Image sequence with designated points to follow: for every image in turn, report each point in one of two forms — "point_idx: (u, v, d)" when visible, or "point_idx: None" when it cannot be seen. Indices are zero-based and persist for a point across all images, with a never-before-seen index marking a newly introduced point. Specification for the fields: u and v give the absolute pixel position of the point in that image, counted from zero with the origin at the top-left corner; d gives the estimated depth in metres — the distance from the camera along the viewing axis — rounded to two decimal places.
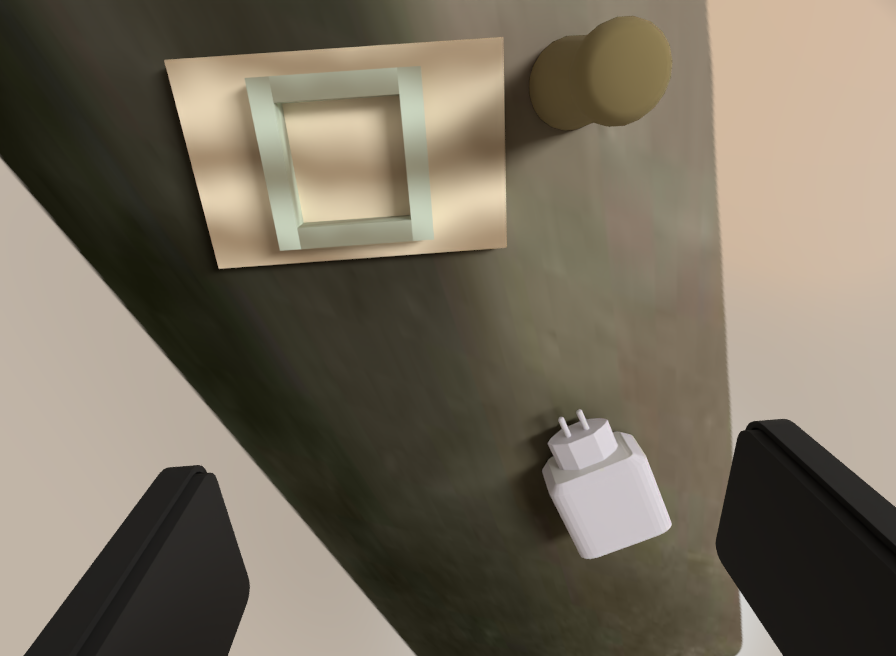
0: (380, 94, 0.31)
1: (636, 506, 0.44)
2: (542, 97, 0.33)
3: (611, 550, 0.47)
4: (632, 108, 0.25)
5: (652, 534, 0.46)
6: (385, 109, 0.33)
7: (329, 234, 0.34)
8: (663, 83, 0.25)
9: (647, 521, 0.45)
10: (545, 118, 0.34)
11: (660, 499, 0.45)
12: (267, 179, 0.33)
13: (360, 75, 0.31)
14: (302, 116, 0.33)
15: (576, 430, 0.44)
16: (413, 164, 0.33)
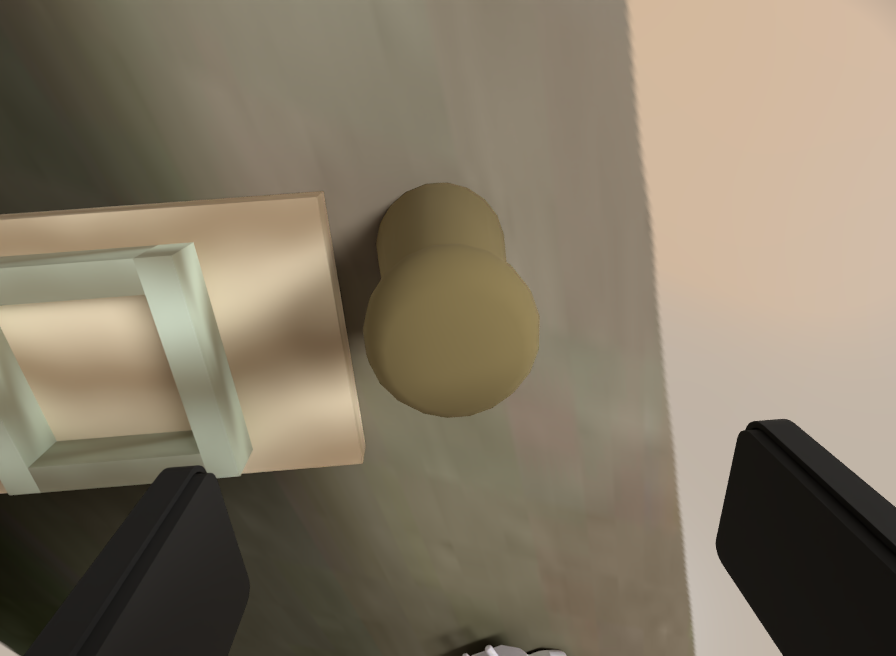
0: (115, 295, 0.20)
1: None
2: None
3: None
4: (468, 407, 0.14)
5: None
6: None
7: (78, 473, 0.23)
8: (521, 369, 0.14)
9: None
10: None
11: None
12: None
13: (74, 270, 0.19)
14: (20, 308, 0.22)
15: None
16: (188, 385, 0.21)
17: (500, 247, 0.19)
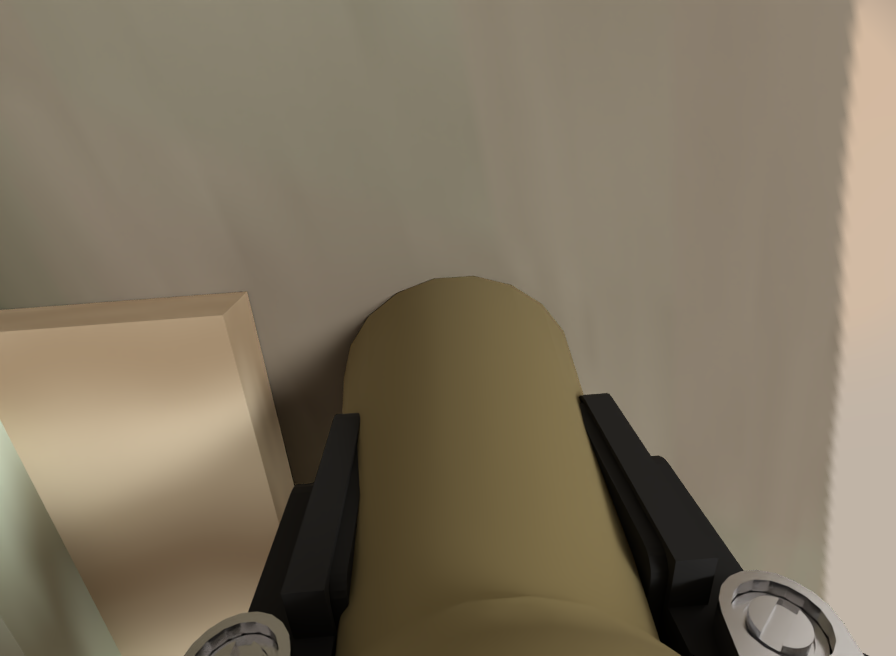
0: None
1: None
2: None
3: None
4: None
5: None
6: None
7: None
8: None
9: None
10: None
11: None
12: None
13: None
14: None
15: None
16: None
17: None
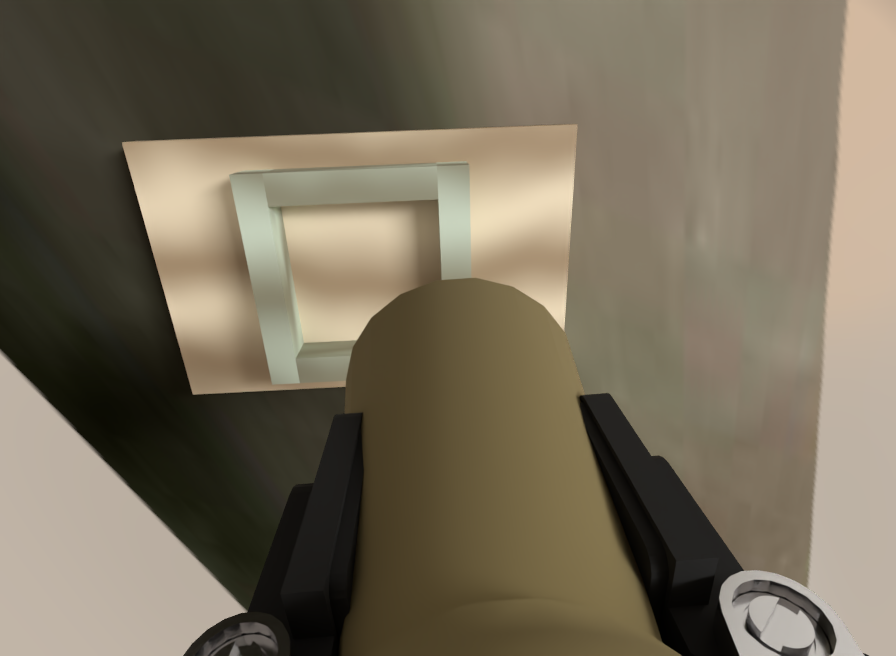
0: (412, 199, 0.23)
1: None
2: None
3: None
4: None
5: None
6: (416, 210, 0.25)
7: (337, 366, 0.26)
8: None
9: None
10: None
11: None
12: (257, 300, 0.25)
13: (386, 175, 0.23)
14: (306, 216, 0.25)
15: None
16: None
17: None
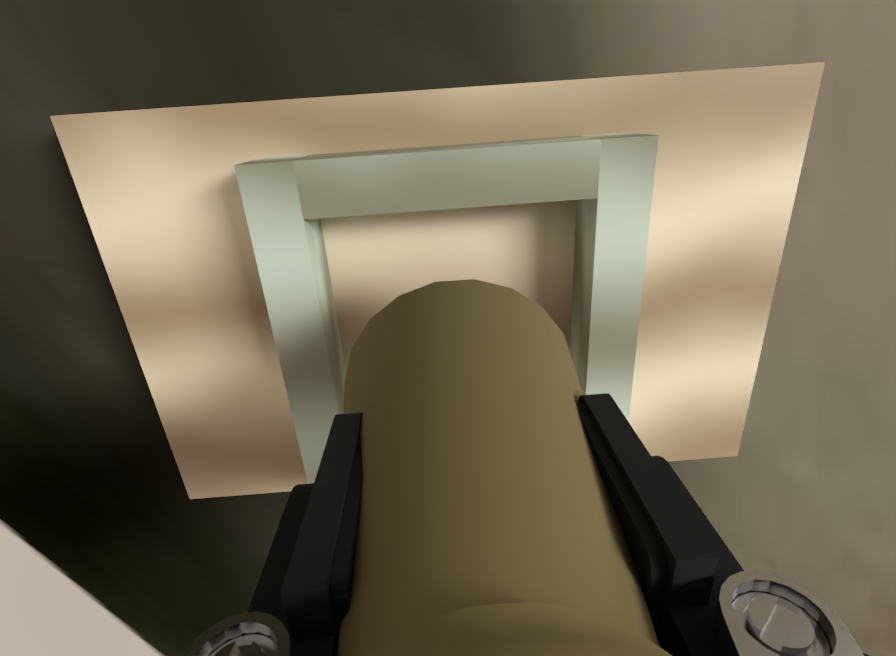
0: (553, 199, 0.13)
1: None
2: None
3: None
4: None
5: None
6: (540, 216, 0.15)
7: None
8: None
9: None
10: None
11: None
12: (286, 372, 0.15)
13: (511, 158, 0.13)
14: (361, 231, 0.15)
15: None
16: (605, 339, 0.15)
17: None
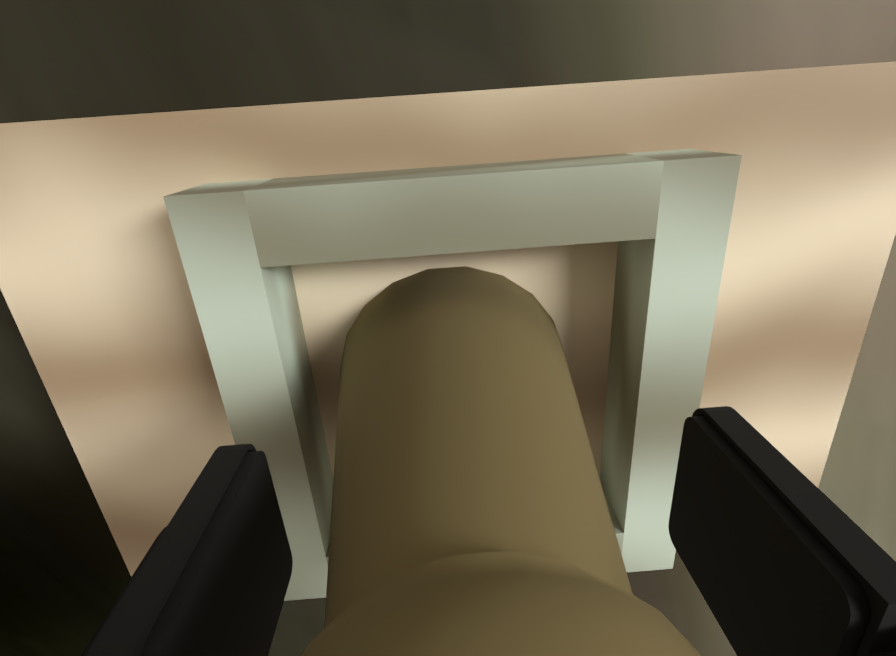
0: (595, 239, 0.10)
1: None
2: None
3: None
4: None
5: None
6: (572, 255, 0.12)
7: None
8: None
9: None
10: None
11: None
12: None
13: (542, 186, 0.09)
14: (342, 275, 0.12)
15: None
16: (657, 415, 0.12)
17: (584, 428, 0.09)
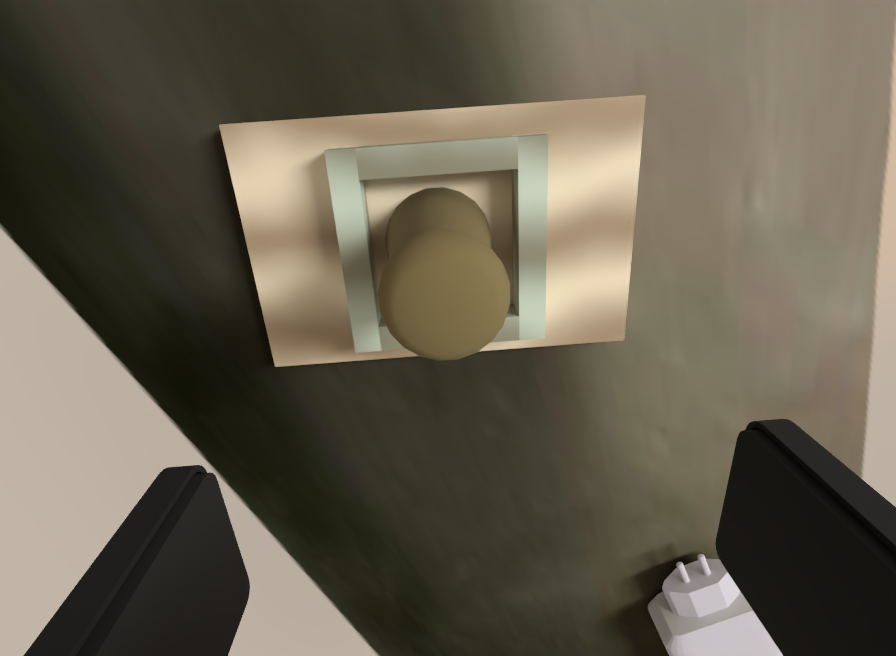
0: (494, 169, 0.24)
1: None
2: None
3: None
4: (456, 351, 0.19)
5: None
6: (491, 181, 0.27)
7: None
8: (495, 321, 0.18)
9: None
10: None
11: None
12: (345, 270, 0.26)
13: (470, 146, 0.24)
14: (388, 191, 0.27)
15: (695, 574, 0.39)
16: (528, 252, 0.26)
17: (485, 237, 0.23)
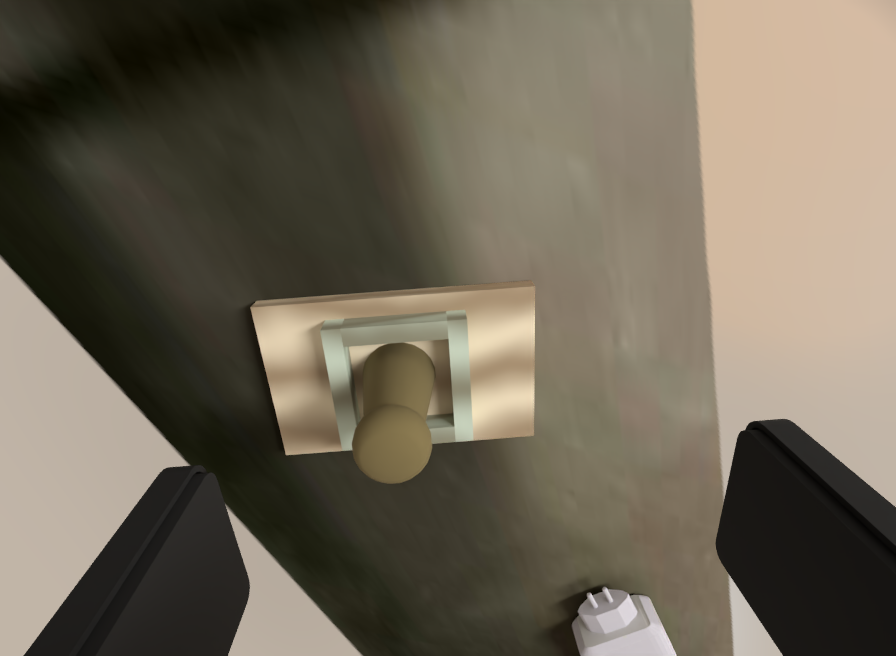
0: (432, 339, 0.37)
1: None
2: None
3: None
4: (398, 480, 0.31)
5: None
6: None
7: None
8: (420, 463, 0.31)
9: None
10: None
11: None
12: (334, 400, 0.39)
13: (416, 327, 0.37)
14: (363, 344, 0.39)
15: (602, 601, 0.52)
16: (458, 387, 0.39)
17: (424, 388, 0.36)
